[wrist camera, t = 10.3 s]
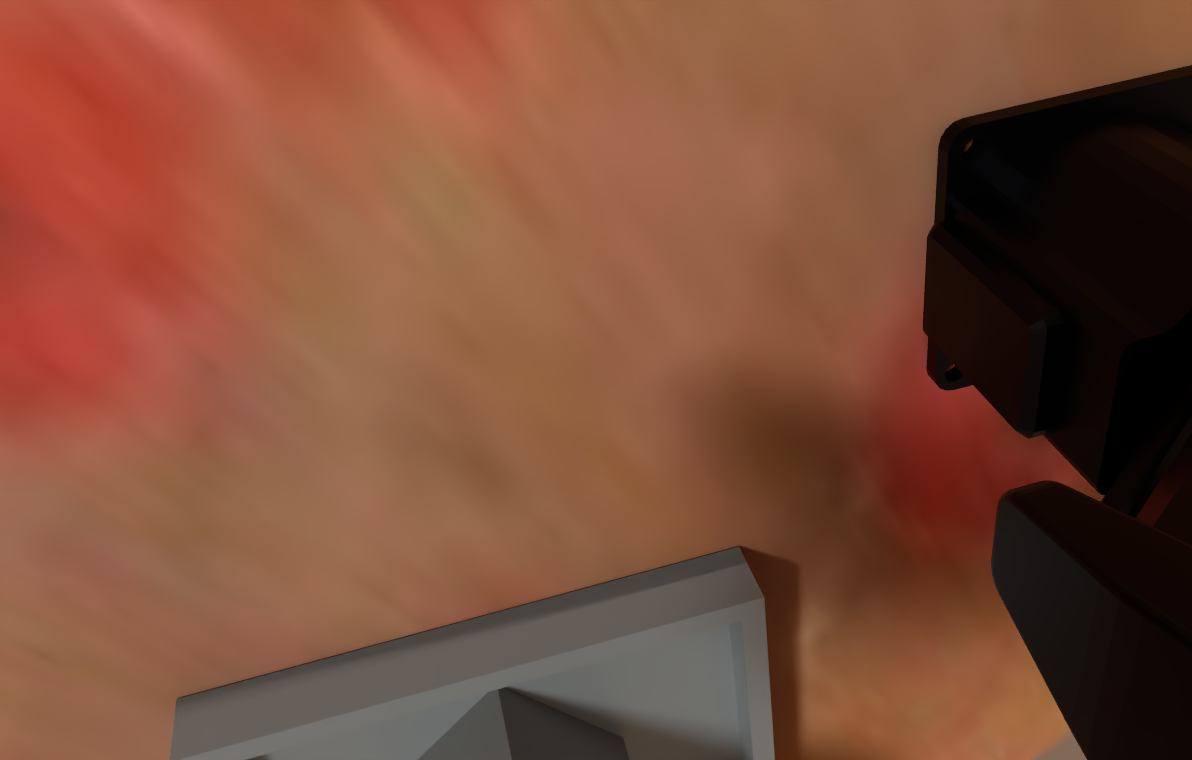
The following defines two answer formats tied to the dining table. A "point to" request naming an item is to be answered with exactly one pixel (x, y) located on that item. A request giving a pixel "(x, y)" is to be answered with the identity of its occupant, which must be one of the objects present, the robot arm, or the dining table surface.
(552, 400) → the dining table surface
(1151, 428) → the robot arm
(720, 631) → the tray
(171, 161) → the dining table surface
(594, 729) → the grey tall block
